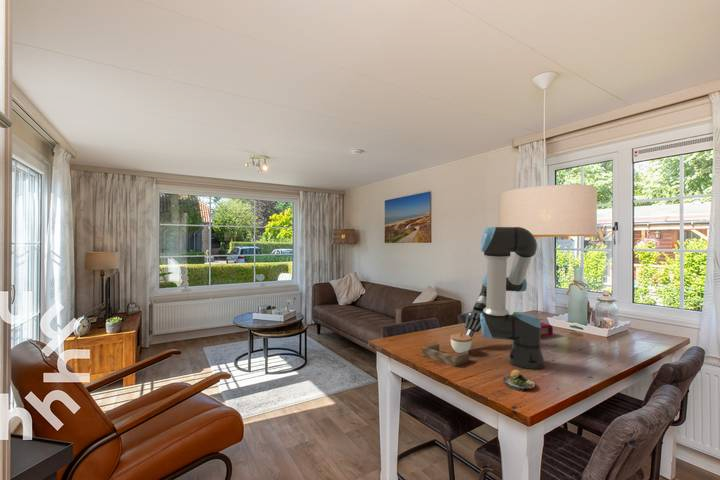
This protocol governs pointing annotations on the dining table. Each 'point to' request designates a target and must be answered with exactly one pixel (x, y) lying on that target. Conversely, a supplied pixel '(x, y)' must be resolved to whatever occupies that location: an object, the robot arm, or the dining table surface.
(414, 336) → the dining table surface
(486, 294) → the robot arm
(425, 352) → the u-shaped bracket
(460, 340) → the lidded jar
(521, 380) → the plate of food
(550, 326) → the book
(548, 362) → the dining table surface
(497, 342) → the dining table surface
